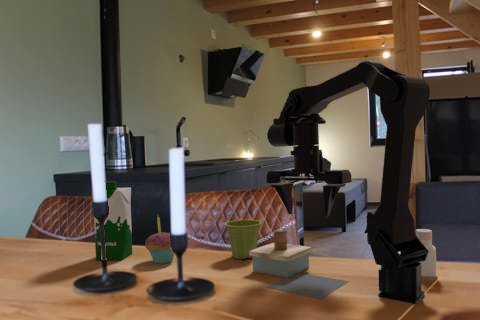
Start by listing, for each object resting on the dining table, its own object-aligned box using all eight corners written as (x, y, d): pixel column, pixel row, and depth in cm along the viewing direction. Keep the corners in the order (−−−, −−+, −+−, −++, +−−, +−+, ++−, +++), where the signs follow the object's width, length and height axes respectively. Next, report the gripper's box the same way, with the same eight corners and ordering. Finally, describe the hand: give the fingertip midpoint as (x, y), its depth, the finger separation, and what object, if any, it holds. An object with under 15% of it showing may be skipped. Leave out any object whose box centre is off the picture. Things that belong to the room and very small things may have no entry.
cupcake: (173, 265, 105) (171, 216, 104) (139, 265, 106) (138, 216, 106) (183, 256, 113) (182, 210, 113) (152, 256, 115) (150, 210, 114)
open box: (309, 269, 98) (308, 251, 98) (288, 279, 91) (287, 260, 91) (275, 263, 104) (274, 246, 104) (253, 273, 97) (252, 255, 97)
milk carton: (91, 261, 111) (87, 183, 111) (106, 252, 120) (103, 180, 120) (123, 261, 110) (120, 182, 109) (137, 252, 119) (134, 179, 118)
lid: (311, 251, 98) (311, 229, 98) (288, 261, 90) (287, 237, 90) (274, 246, 104) (273, 225, 104) (249, 255, 97) (248, 232, 96)
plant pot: (218, 259, 110) (217, 224, 109) (236, 250, 118) (235, 218, 118) (252, 263, 105) (251, 227, 105) (268, 253, 114) (267, 220, 113)
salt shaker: (437, 278, 89) (436, 232, 89) (416, 278, 90) (415, 232, 89) (432, 273, 93) (431, 228, 93) (412, 272, 94) (411, 228, 93)
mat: (348, 283, 88) (348, 281, 88) (321, 301, 78) (321, 299, 78) (296, 273, 95) (296, 272, 95) (265, 289, 86) (265, 287, 86)
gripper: (359, 143, 99) (361, 212, 99) (287, 146, 110) (289, 208, 110) (339, 144, 90) (342, 219, 90) (263, 147, 101) (266, 214, 101)
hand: (308, 215), depth 98 cm, fingers open, 9 cm apart
